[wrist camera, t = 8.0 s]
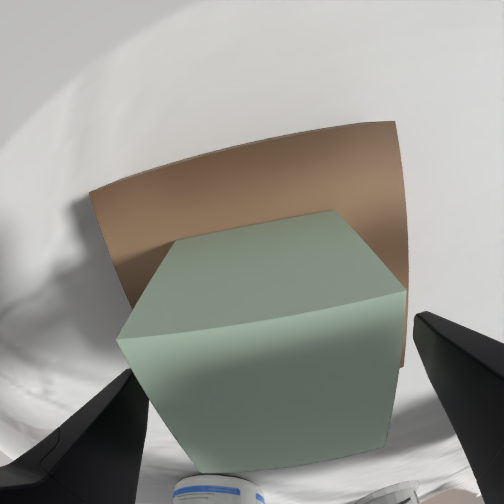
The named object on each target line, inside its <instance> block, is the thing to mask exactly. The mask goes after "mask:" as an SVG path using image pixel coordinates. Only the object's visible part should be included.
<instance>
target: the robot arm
mask: <svg viewBox="0 0 504 504" xmlns="http://www.w3.org/2000/svg"><path fill="white" fill-rule="evenodd" d="M413 340H414V343H415V345H416V348H417V350H418V352H419V355H420V357H421V360H422V362H423V365H424V367H425V370H426V373H427V375H428V377H429V380H430V382H431V384H432V386H433V388H434V389H435V391H436V393H437V395H438V397H439V399H440V401H441V403H442V405H443V407H444V409H445V411H446V413H447V415H448V417H449V419H450V422H451V424H452V426H453V428H454V430H455V432H456V434H457V436H458V439H459V441H460V443H461V445H462V448H463V450H464V452H465V454H466V457H467V459H468V461H469V464H470V466H471V468H472V471H473V473H474V476H475V478H476V480H477V484H478V486H479V489H480V492H481V494H482V497H483V500H484V502H485V504H504V343H501V342H499V341H497V340H494V339H492V338H490V337H487V336H485V335H483V334H480V333H478V332H476V331H473V330H471V329H469V328H466V327H464V326H461V325H459V324H457V323H454V322H452V321H450V320H447V319H445V318H442V317H440V316H438V315H435V314H433V313H431V312H428V311H424V312H421V313H418V314H416V315H415V317H414V327H413ZM148 408H149V398H148V396H147V395H146V393H145V391H144V390H143V388H142V386H141V385H140V383H139V381H138V380H137V378H136V376H135V374H134V373H133V371H132V369H131V368H129V369H126V370H125V371H124V372H122V373H121V374H120V375H119V376H118V377H117V378H115V379H114V380H113V381H112V382H111V383H110V384H108V385H107V386H106V387H105V388H104V389H103V390H101V391H100V392H99V393H98V394H97V395H96V396H94V397H93V398H92V399H91V400H90V401H89V402H87V403H86V404H85V405H84V406H83V407H82V408H80V409H79V410H78V411H77V412H76V413H75V414H73V415H72V416H71V417H70V418H69V419H67V420H66V421H65V422H64V423H63V424H62V425H60V427H58V428H57V429H56V430H54V431H53V432H52V433H51V434H50V435H48V436H47V437H46V438H45V439H44V440H42V441H41V442H40V443H38V444H37V445H35V446H34V447H33V448H31V449H30V450H29V451H27V452H26V453H24V454H23V455H21V456H20V457H19V458H17V459H16V460H14V461H13V462H11V463H10V464H8V465H5V466H2V467H0V504H135V499H136V492H137V485H138V479H139V472H140V466H141V460H142V454H143V448H144V442H145V437H146V431H147V422H148Z"/></svg>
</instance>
